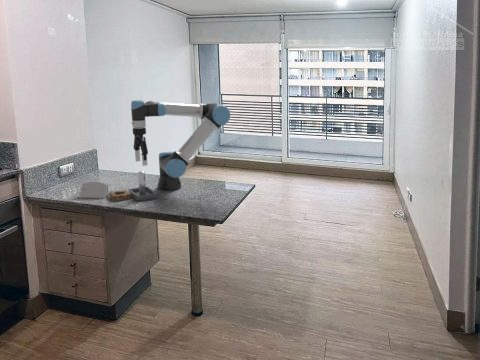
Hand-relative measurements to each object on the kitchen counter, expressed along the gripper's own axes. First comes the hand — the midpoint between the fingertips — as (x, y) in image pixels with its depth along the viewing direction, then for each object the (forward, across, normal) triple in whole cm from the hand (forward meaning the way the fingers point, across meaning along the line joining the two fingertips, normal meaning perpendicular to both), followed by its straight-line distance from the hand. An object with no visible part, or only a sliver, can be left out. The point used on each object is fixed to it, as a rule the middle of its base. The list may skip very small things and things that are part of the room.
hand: (141, 163), depth 271 cm
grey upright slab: (+20, -15, -25) cm, 36 cm away
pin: (+19, 0, 0) cm, 19 cm away
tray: (+20, 0, 0) cm, 20 cm away
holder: (+20, -3, -13) cm, 24 cm away
